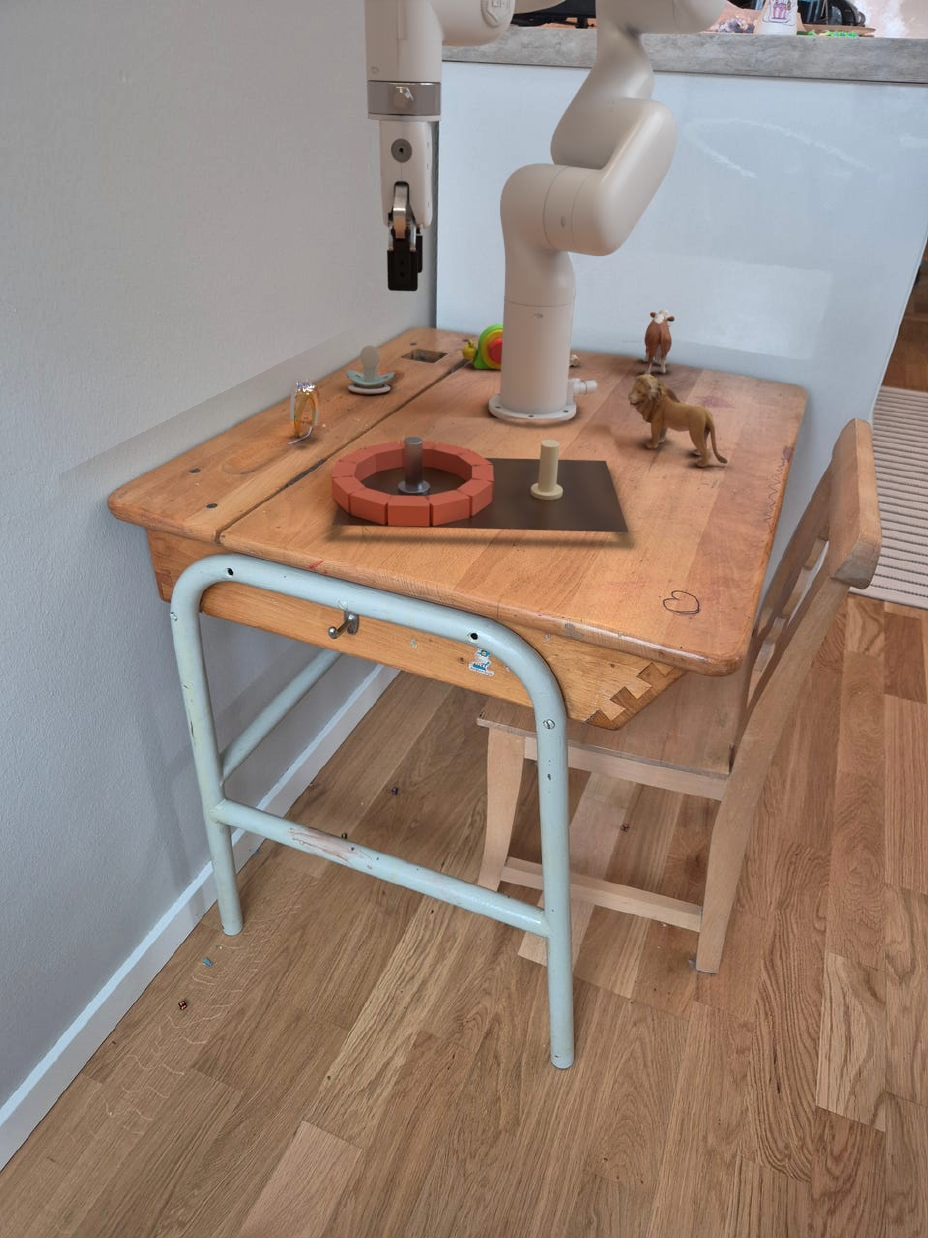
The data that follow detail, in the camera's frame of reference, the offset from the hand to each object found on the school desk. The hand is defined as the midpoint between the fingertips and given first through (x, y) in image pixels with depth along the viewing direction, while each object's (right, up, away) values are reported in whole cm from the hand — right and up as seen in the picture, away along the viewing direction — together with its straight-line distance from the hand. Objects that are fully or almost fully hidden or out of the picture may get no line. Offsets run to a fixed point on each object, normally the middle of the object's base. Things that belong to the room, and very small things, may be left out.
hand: (406, 280), depth 96 cm
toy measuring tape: (+16, +4, +46) cm, 49 cm away
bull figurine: (+38, +4, +47) cm, 61 cm away
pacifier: (-8, -3, +34) cm, 35 cm away
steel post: (+1, -23, +1) cm, 24 cm away
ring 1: (-14, -15, +17) cm, 26 cm away
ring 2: (+1, -23, +1) cm, 24 cm away
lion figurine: (+33, -16, +16) cm, 40 cm away
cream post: (+16, -24, +1) cm, 29 cm away
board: (+8, -25, +2) cm, 26 cm away
